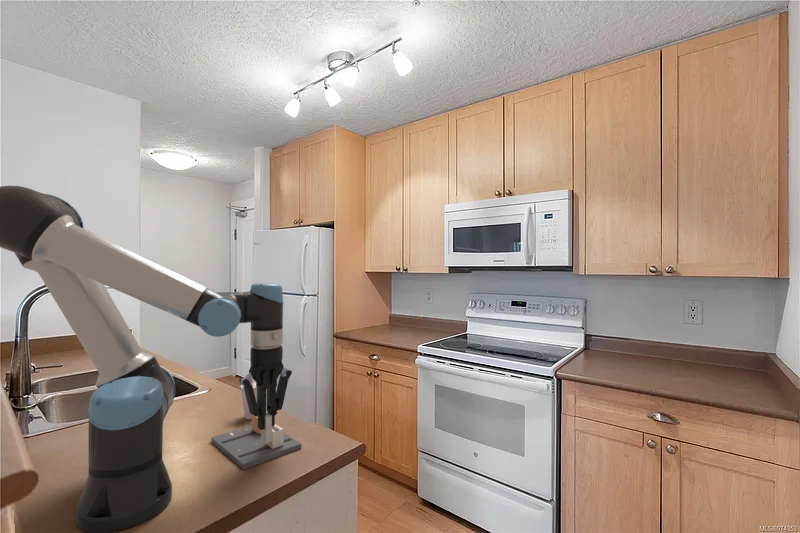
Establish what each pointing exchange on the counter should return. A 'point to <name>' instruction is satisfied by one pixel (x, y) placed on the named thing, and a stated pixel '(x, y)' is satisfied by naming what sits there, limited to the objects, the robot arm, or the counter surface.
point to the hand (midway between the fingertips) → (266, 440)
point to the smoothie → (245, 404)
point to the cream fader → (276, 437)
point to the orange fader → (255, 424)
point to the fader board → (251, 447)
